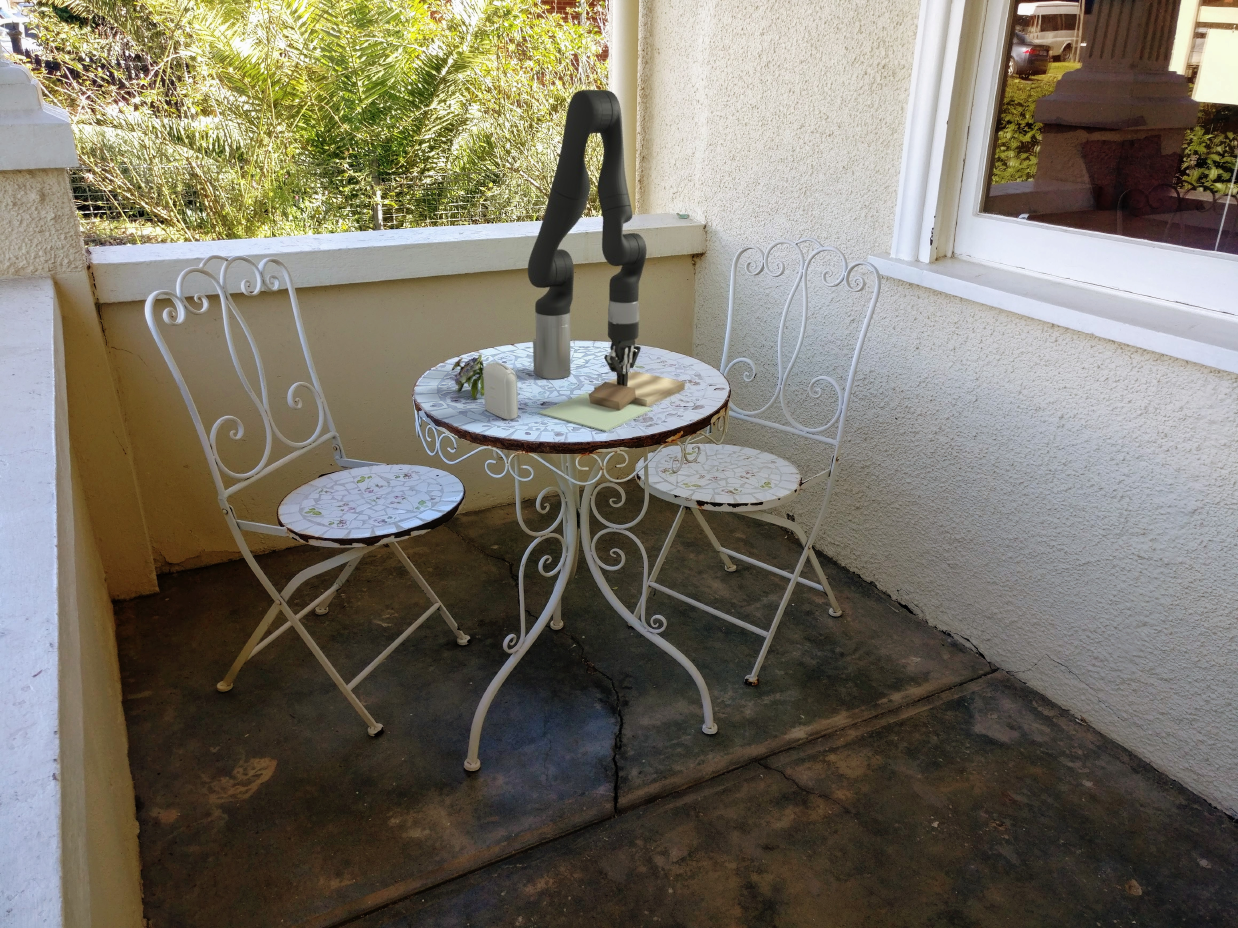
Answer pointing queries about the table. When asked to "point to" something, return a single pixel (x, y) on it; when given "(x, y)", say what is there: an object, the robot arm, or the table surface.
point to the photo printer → (500, 390)
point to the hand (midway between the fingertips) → (622, 386)
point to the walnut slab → (612, 395)
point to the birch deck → (651, 388)
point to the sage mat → (594, 413)
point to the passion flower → (470, 375)
